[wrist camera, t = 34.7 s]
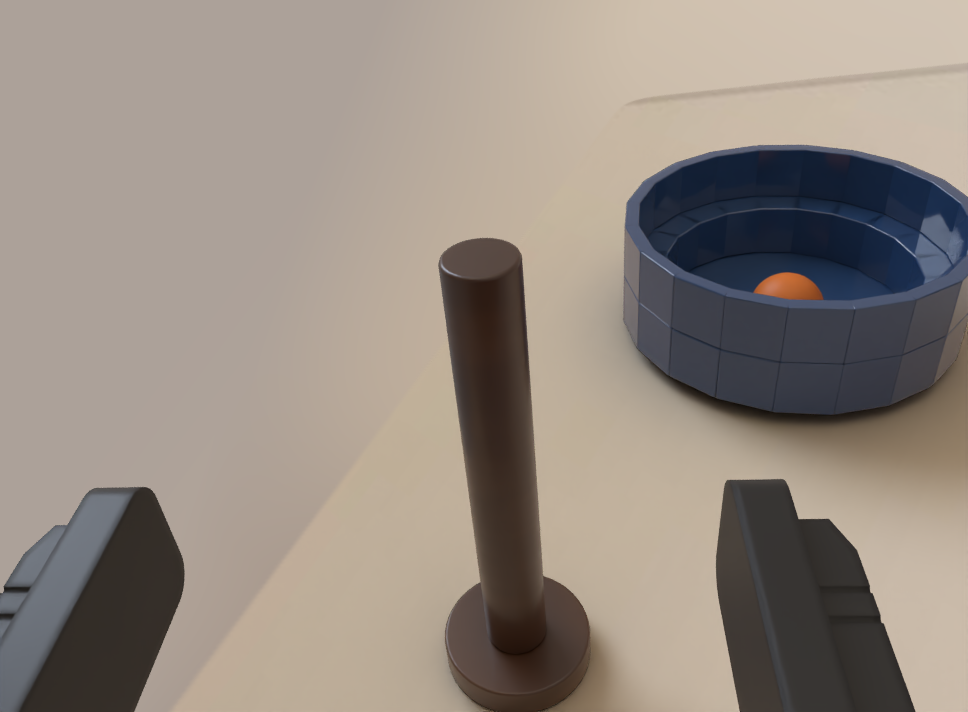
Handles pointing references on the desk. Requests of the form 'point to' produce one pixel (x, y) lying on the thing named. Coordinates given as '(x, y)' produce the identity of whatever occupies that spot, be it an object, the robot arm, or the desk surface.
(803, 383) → the bowl
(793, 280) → the bead
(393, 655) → the desk surface
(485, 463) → the stick
